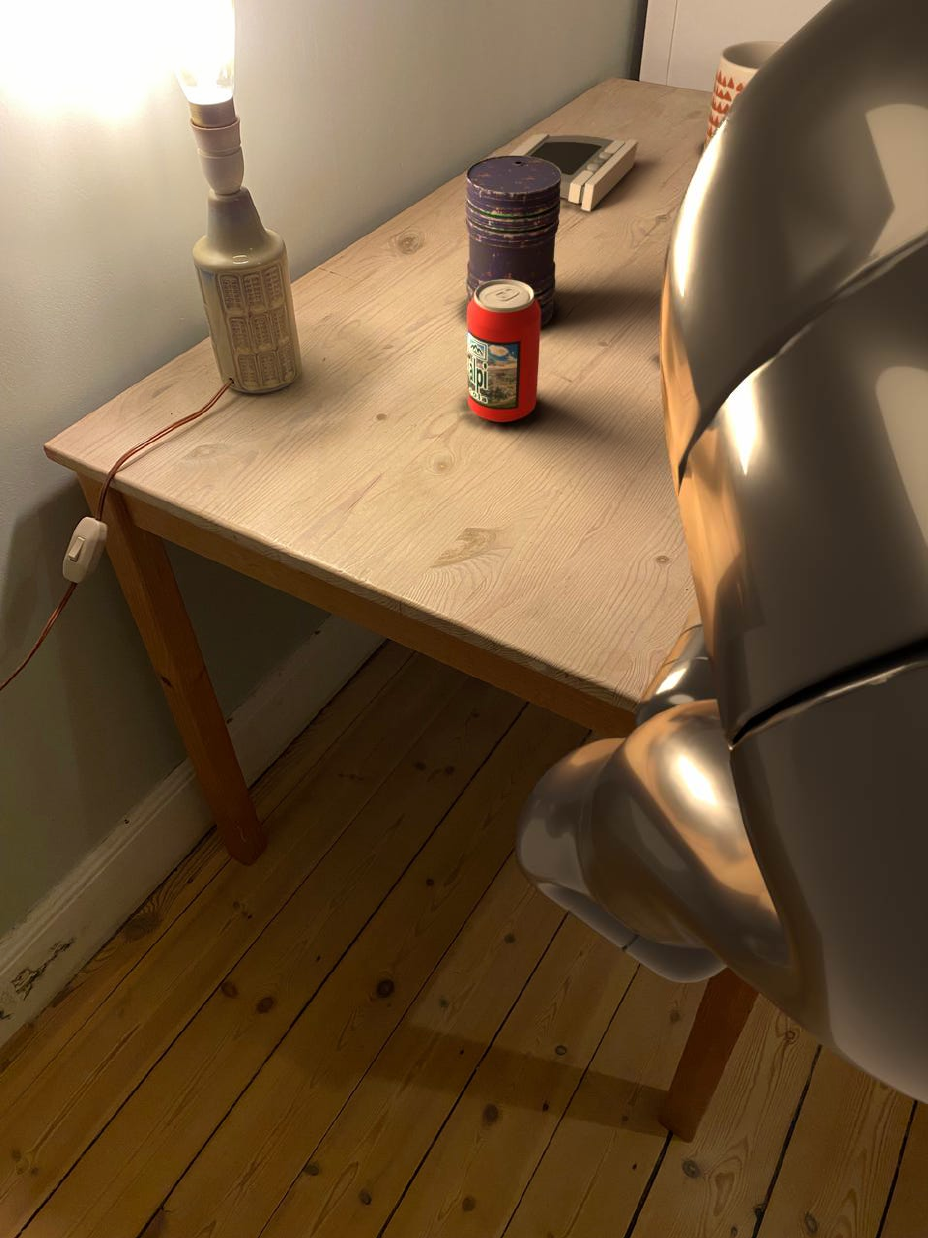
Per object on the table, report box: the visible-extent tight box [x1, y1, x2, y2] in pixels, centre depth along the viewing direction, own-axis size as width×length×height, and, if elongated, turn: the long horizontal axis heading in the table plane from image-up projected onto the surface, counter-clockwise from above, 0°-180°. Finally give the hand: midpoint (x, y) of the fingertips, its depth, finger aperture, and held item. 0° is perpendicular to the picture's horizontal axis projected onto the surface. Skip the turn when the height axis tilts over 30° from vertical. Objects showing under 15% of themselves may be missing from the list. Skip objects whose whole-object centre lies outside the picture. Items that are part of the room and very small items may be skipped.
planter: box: [703, 40, 786, 149], centre depth 129 cm, size 14×14×13 cm
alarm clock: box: [507, 132, 639, 212], centre depth 127 cm, size 17×5×16 cm
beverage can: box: [466, 279, 541, 423], centre depth 86 cm, size 7×7×12 cm
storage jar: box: [465, 154, 562, 328], centre depth 98 cm, size 10×10×15 cm
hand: (856, 460), depth 58 cm, fingers closed on ink box, 8 cm apart
